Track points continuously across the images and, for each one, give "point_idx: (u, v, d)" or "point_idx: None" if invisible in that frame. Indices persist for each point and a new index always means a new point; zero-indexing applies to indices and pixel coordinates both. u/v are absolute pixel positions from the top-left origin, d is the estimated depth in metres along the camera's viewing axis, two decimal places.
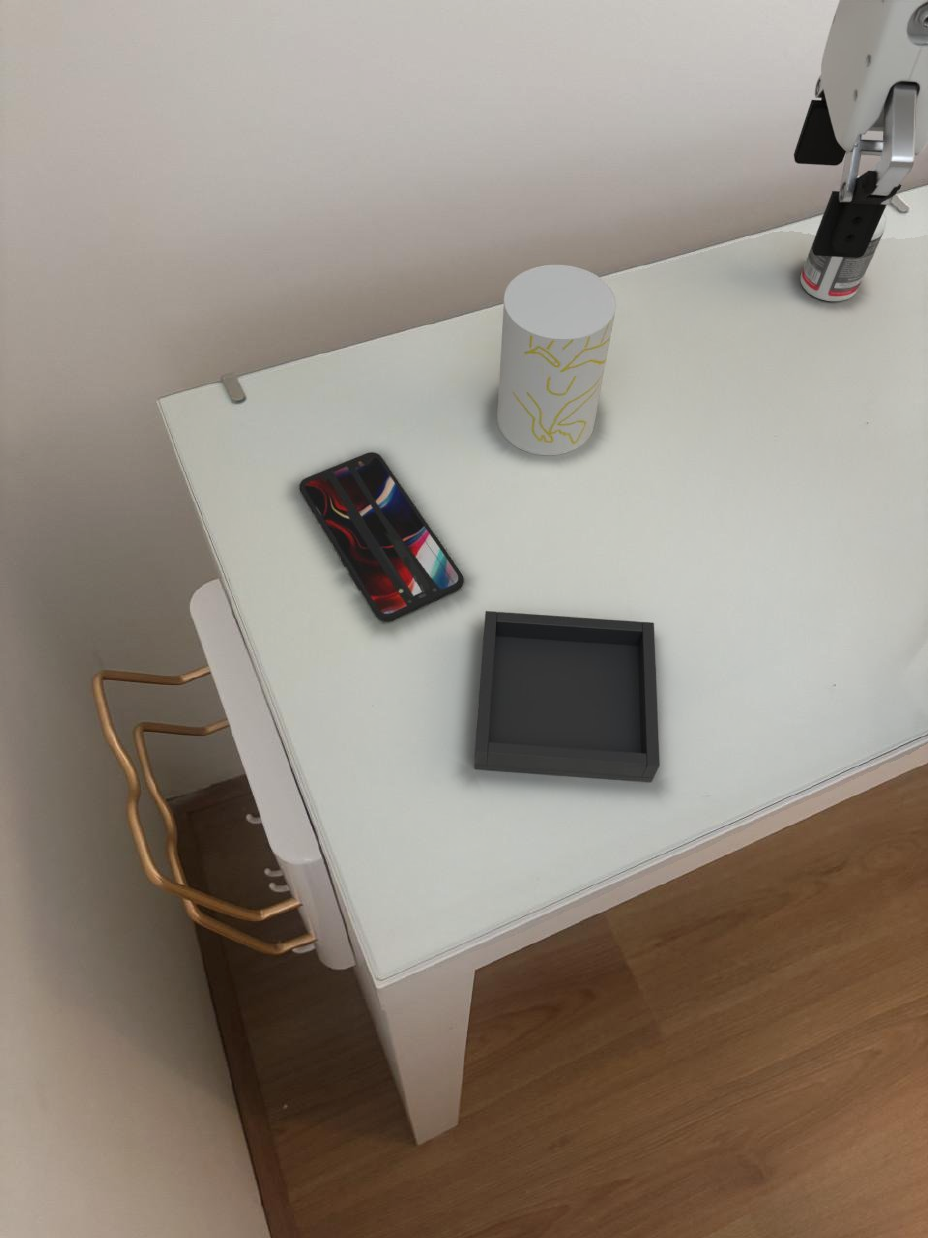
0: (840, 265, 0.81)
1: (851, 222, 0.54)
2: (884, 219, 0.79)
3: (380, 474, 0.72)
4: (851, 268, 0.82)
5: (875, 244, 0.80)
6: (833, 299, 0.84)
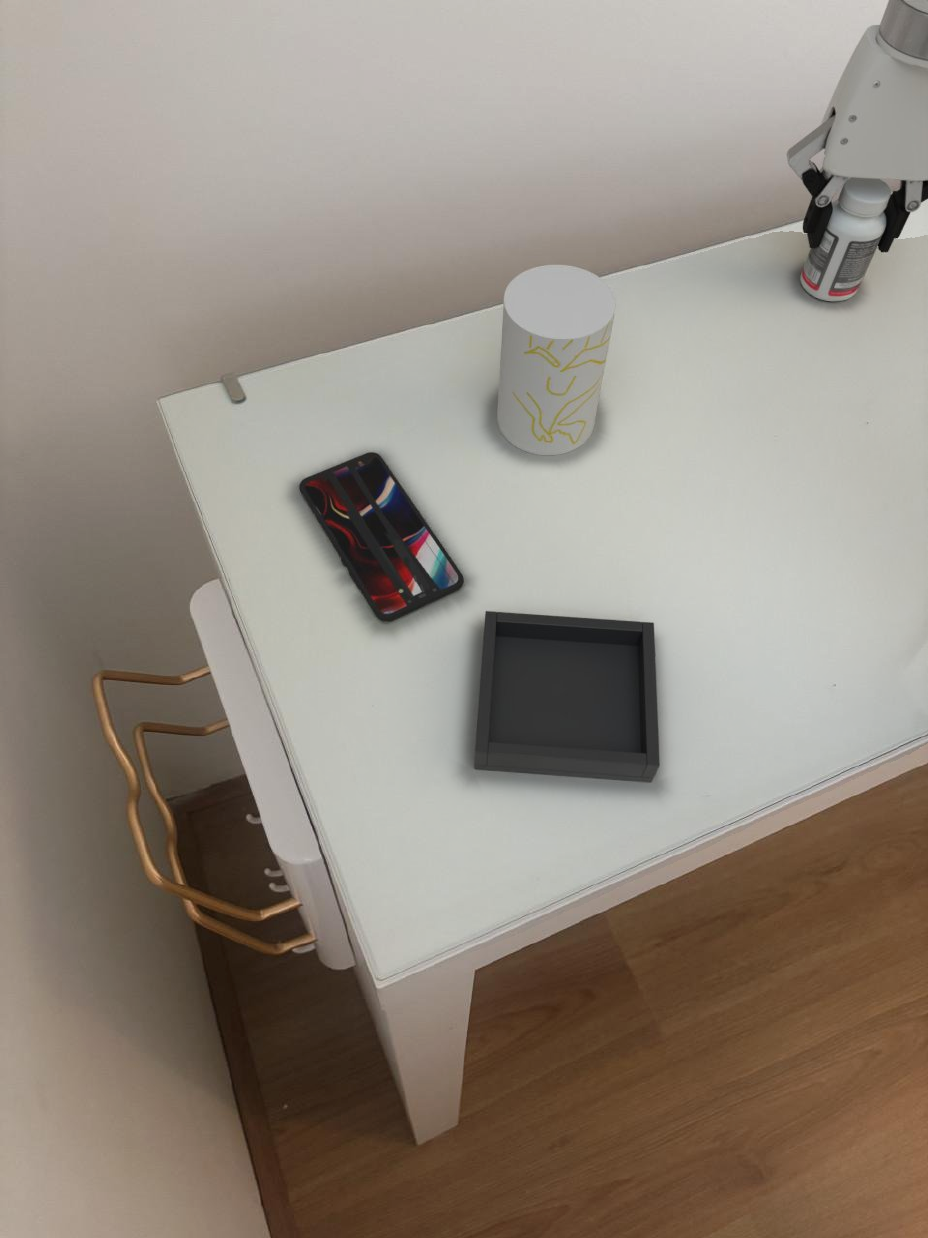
0: (840, 265, 0.81)
1: None
2: (884, 219, 0.79)
3: (380, 474, 0.72)
4: (851, 268, 0.82)
5: (875, 244, 0.80)
6: (833, 299, 0.84)
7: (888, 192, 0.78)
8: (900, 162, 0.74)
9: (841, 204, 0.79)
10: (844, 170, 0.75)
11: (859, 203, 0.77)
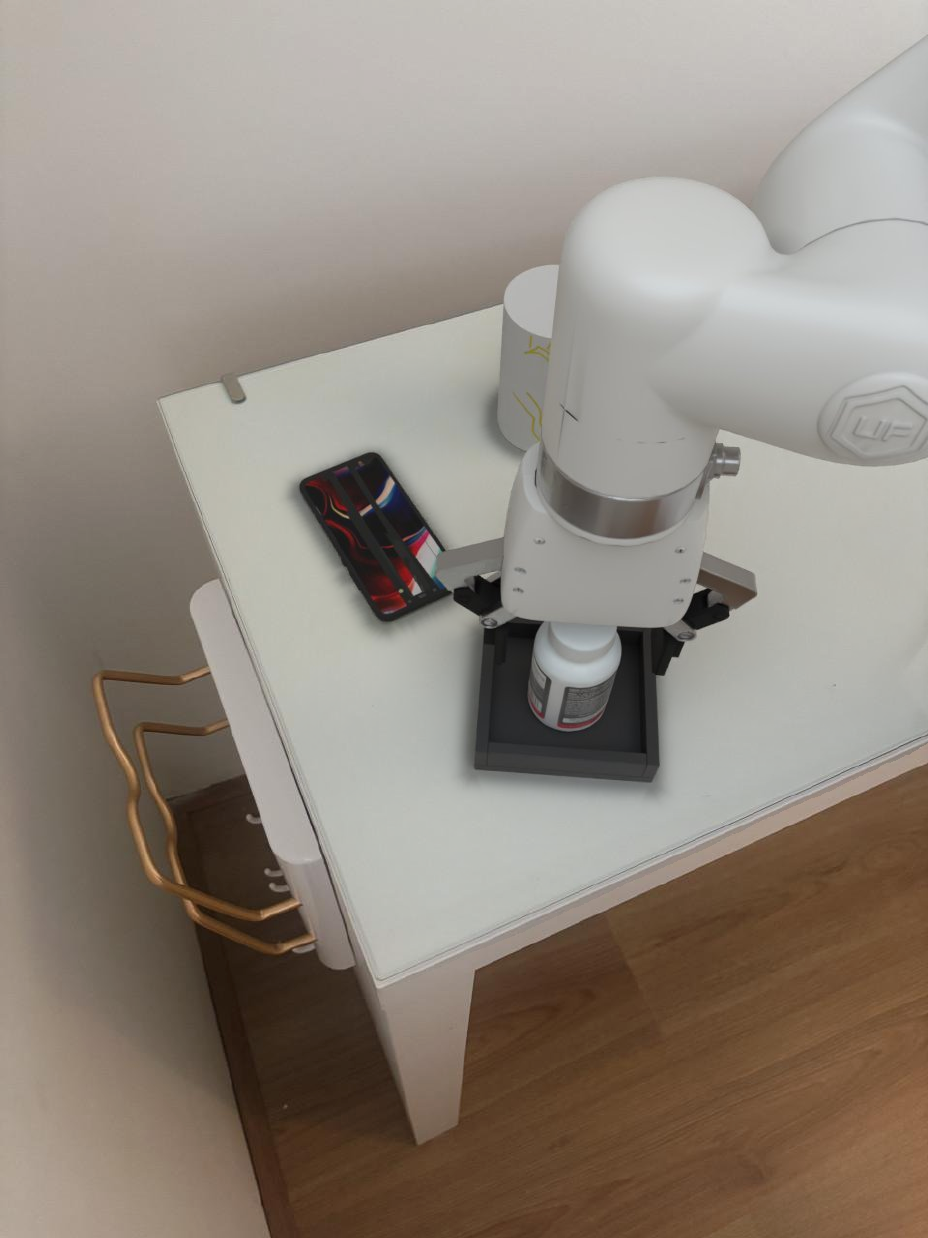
0: (561, 704, 0.57)
1: None
2: (615, 654, 0.55)
3: (380, 473, 0.72)
4: (579, 708, 0.57)
5: (606, 684, 0.56)
6: (566, 731, 0.60)
7: (612, 630, 0.53)
8: (610, 614, 0.49)
9: (549, 639, 0.54)
10: (532, 616, 0.50)
11: (568, 648, 0.53)
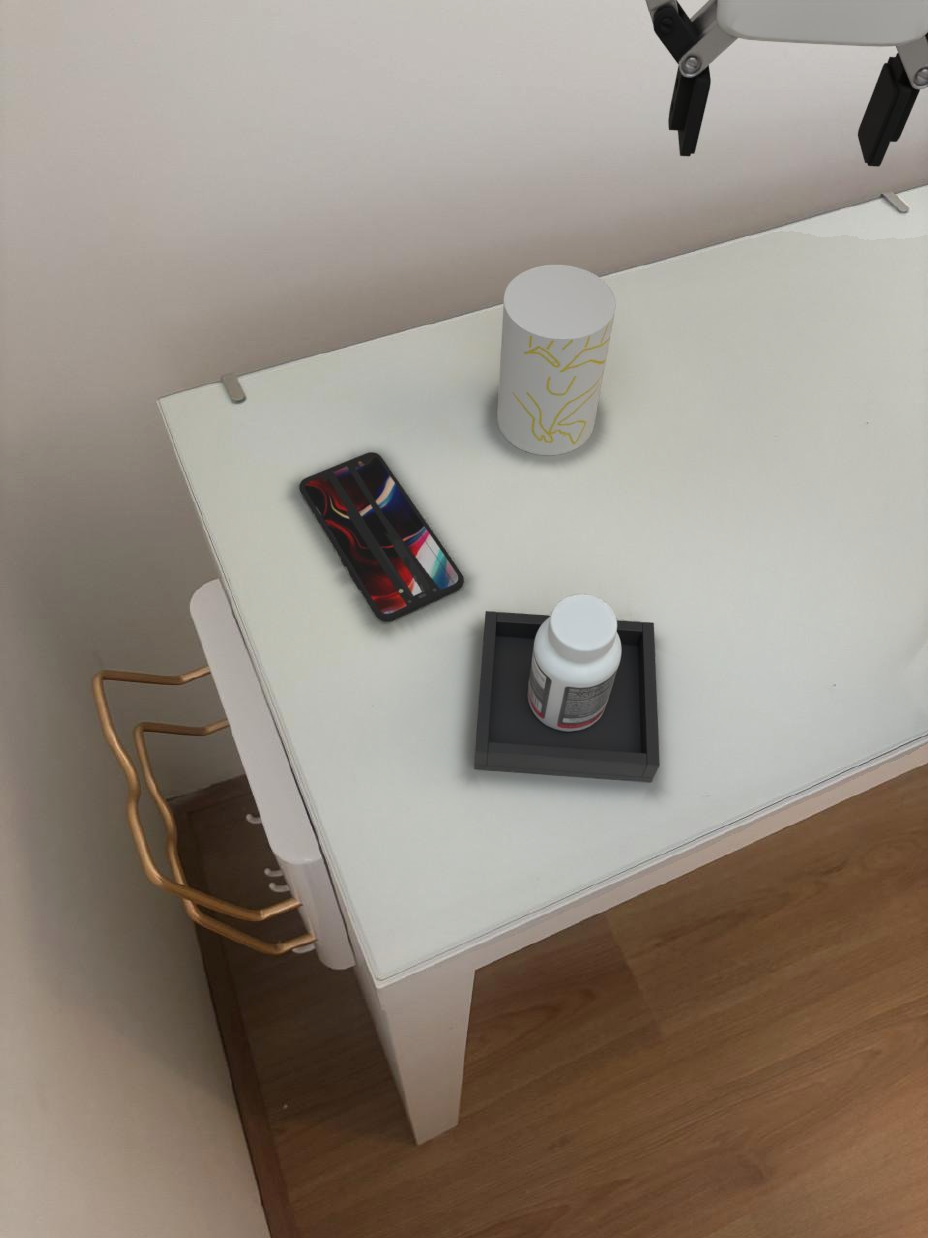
0: (561, 704, 0.57)
1: None
2: (615, 654, 0.55)
3: (380, 474, 0.72)
4: (579, 708, 0.57)
5: (606, 684, 0.56)
6: (566, 731, 0.60)
7: (612, 630, 0.53)
8: (852, 7, 0.41)
9: (549, 639, 0.54)
10: (754, 25, 0.42)
11: (568, 648, 0.53)
